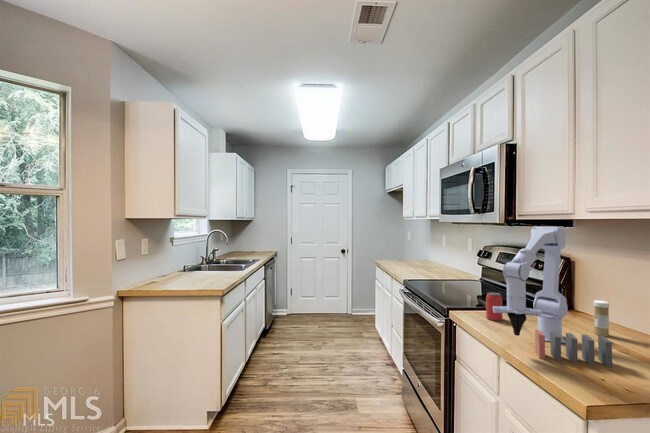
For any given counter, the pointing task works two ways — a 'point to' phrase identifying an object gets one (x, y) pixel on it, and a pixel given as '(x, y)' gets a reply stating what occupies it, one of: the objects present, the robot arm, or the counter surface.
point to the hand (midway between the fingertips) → (516, 334)
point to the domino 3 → (588, 350)
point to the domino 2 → (571, 348)
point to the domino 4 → (605, 351)
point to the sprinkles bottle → (601, 318)
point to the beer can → (491, 301)
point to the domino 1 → (555, 346)
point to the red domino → (540, 344)
